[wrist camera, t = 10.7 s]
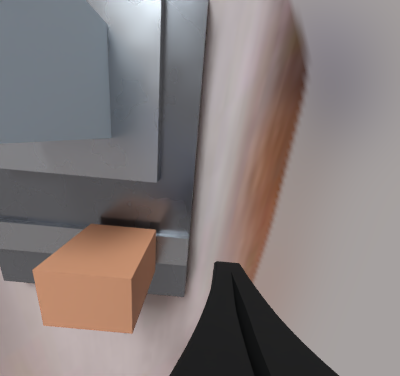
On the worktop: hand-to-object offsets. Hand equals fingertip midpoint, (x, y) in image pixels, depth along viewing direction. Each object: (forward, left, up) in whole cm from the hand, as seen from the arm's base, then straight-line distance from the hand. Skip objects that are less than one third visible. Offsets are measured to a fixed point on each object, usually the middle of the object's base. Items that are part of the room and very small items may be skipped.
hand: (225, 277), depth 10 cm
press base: (-1, +10, -3) cm, 11 cm away
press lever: (-3, +5, -2) cm, 7 cm away
